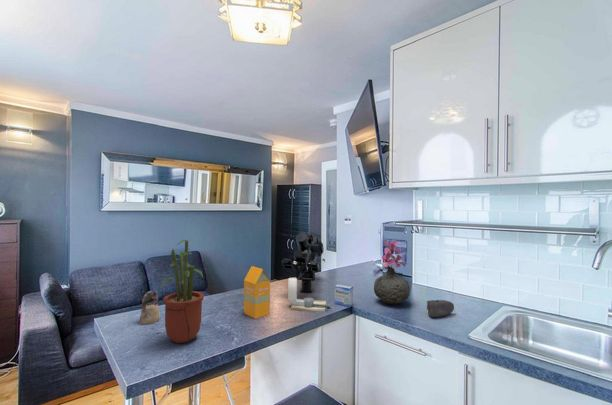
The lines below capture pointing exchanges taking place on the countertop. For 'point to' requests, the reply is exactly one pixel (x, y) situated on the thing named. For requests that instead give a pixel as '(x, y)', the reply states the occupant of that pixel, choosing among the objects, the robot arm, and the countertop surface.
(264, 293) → the orange juice
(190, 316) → the potted plant
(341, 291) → the medicine box
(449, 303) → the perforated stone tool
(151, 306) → the figurine
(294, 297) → the crank handle
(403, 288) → the vase
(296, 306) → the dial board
